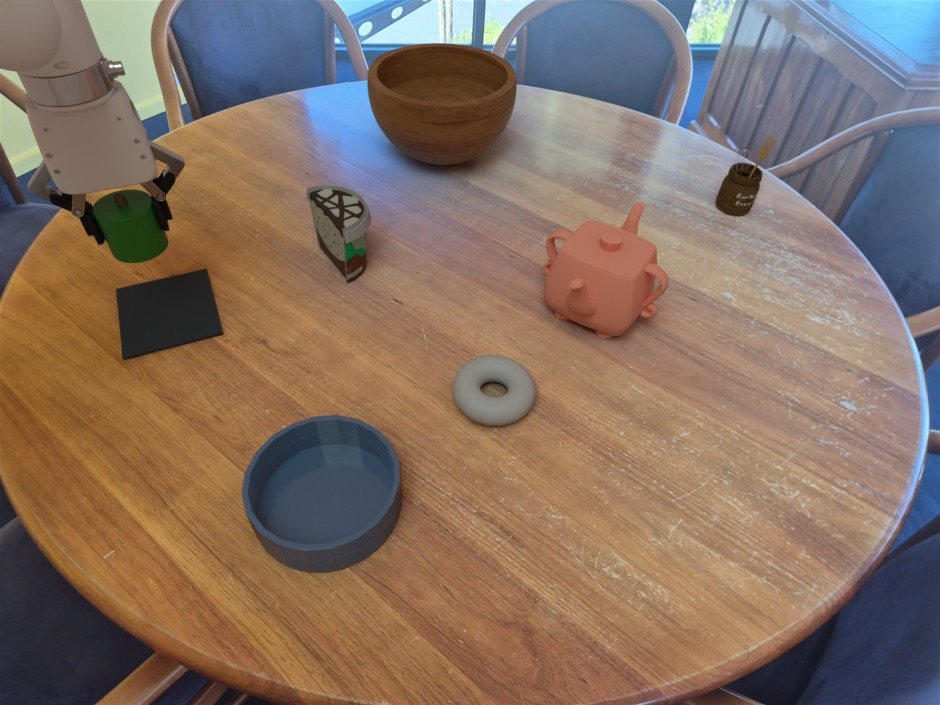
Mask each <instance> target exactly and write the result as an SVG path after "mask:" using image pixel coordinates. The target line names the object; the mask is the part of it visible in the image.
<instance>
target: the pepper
mask: <svg viewBox="0 0 940 705" xmlns="http://www.w3.org/2000/svg"><path fill="white" fill-rule="evenodd" d="M92 206H93V207H92V213H93V216H94V218H95V220H96V222H97V224H98V226H99V228H100V230H101V232H102V234H103V236H104V238H105V243H106V244H107V247H108V248H109V250H110V253H111V255H112V257H113V258H114V259H115V260H116V261H119V262H121V263H125V264H141V263H145V262H148V261H151V260H154V259H156V258H157V257H159V256H161V255H162V254H163V253H164V252H165V251H166V250H167V248H168V246H169V242H170V241H169V238H168V236H167V233H166V231H165V230H164V231H163V230H162V227H161V225H160V222H159V220H158V217H157V215H156V212H155V210H154V207H153V204H152V199H151V194H150V193H149V192H147V191H143V190H140V189H121V190H116V191H111V192H109V193H107V194H105V195H103V196H101V197H100V198H98V199H97V200H96V201H95V202H94V203H93V204H92Z"/></svg>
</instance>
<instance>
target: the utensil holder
mask: <svg viewBox="0 0 940 705" xmlns="http://www.w3.org/2000/svg"><path fill="white" fill-rule="evenodd" d="M776 142H777V139H776V138H775V139H774V137H773V136H772V137H771V135H768V136H767V138H766V140H765V142H764V143H763V145H762V146H761V148H760V150H759V151H758V155H759V158H758V159H757V162H756V163H755V165H754V164H751V163H752V162H751V161H752V160H753V158H748V159H747V162H745V161H746V160H745V159H744V158H745V157H747V156H746V155H747V154H746V153H748V157H751V155H753V153H752V152H751V150H750V149H747V148H745V149H743V148H742V149H741V151H742V152H743V153H741V151H739V152H738V153H737V156H736V157H735V163H734V164H732V165H731V166H730V168H729V170H728V174H726V176H725V177H724V178H723V180H722V182H721V185H720V187H719V190H718V192H717V195H716V198H715V206H716V208H717V209H718V210H719V211H720V212H721V213H724V214H726V215H728V216H733V217H741V216H745V215H748V213H750V211H751V210H752V208H753V206H754V204H755V202H756V199H757V196H758V194H759V191H760V188H761V182H762V179H763V176H764V173H763V170H761V168H760V167H758V166H759V165H760V163H761V161H762V160H763V159H766V158H768V156H769V155H770V153H771V151H772V149H773V148H774V146H775V144H776ZM743 154H744V155H743ZM742 155H743V156H742ZM740 156H742V160H741V162H739V161H740V160H739V158H738V157H740Z"/></svg>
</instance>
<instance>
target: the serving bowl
mask: <svg viewBox="0 0 940 705" xmlns="http://www.w3.org/2000/svg"><path fill="white" fill-rule="evenodd" d="M398 457H399V456H397V453H396V451H395V448H394V446H393V444H392V442H391V441H390V440H389V439H388V438H387V437H386V436H385V435H384V434H383V433H382V432H381V431H380V430H379V429H378V428H377V427H375V426H373V425H371V424H369V423H367V422H365V421H364V420H361V419H358V418H355V417H349V416H345V415H339V414H332V415H331V414H329V415H314V416H311V417H308V418H305V419H302V420H298V421H296V422H292V423H290V424H289V425H287V426H285V427H284V428H282V429H280V430H279V431H276V432H275V433H274V434H272V435H271V436H270V437H269V438H268V439H267V440H266V441H265V442H264V443H263V444H262V445H261V446H260V447H259V448H258V449H257V450H256V451H255V453H254V455H253V456H252V458H251V460H250V461H249V464H248V466H247V467H246V469H245V472H244V475H243V482H242V487H241V498H242V503H243V508H244V512H245V516H246V517H247V519H248V522H249V524H250V527H251V528H252V531H253V532H254V535H255V537H256V538H257V540H258V541H259V543H260V545H261V546H262V547H263V549H264V550H265V551H266V553H267V554H268V555H269V556H270V557H271V558H273V559H274V560H276V561H277V562H278V563H279V564H282V565H283V566H285V567H287V568H289V569H292V570H295V571H298V572H303V573H311V574H313V573H314V574H323V573H324V574H325V573H333V572H338V571H341V570H344V569H348V568H351V567H352V566H355V565H357V564H359V563H361V562H363V561H364V560H366V559H368V558H369V557H370V556H372V555H373V554H374V553H375V552H377V551H378V550H379V549H380V548H381V547H382V546H383V545H384V544H385V543H386V541H387V539H389V538H390V536H391V534H392V532H393V531H394V530H395V528H396V525H397V523H398V521H399V517H400V514H401V511H402V510H401V509H402V505H403V499H402V498H403V496H402V480H401V479H402V478H401V476H402V475H401V465H400V464H401V463H400V459H399V458H398Z"/></svg>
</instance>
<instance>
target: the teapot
mask: <svg viewBox="0 0 940 705" xmlns="http://www.w3.org/2000/svg"><path fill="white" fill-rule="evenodd" d="M644 209H645V203H644V202H642V201H639V202H637V203H635V204H634V205H633V206H632V208H631V209H630V211H629V214H628V215H627V217H626V219H625V221H624V223H623V224H622V226H621V227H616V226H614V225H611V224H608V223H604V222H601V221H596V220H590V219H589V220H585V221H583V222H582V223H581V224H580V225H579V226H578V227H577V228H576V229H575V230H574V231H573V232H572V231H570V230H567V229H556V230H554V231H552V232H550V233H549V235H548V236H547V238H546V241H545V243H546V244H545V246H546V248H545V249H546V252H547V256H548V258H549V259H548V260H546V261H545V262H544V264H543V272H544V274H545V275H546V279H545V282H544V287H543V290H542V292H543V298H544V301H545V304H546V305H547V307H548V308H549V309H551V310H552V311H554V315H555V316H556V317H557V318H558V319H560V320H564V321H565V320H571V321H572V322H574V323H576V324H579V325H581V326H583V327H586V328H588V329H591V330H594V332H595V334H596V335H597V336H598V337H600V338H603V339H609V338H612V337H613V336H615V337H616V336H618V337H619V336H622V335H623V334H625V333H626V331H628V329H629V328H630V327H631V326H632V325H633V324H634V322H635V321H636V320H637V319H638V317H639V316H641V317H643V318H645V319H651V318H653V317H655V316H656V315H657V314H658V311H659V307H658V305H657V304H656V303H655V301H657V300H658V299H659V298H660V297H661V296H662V295H664V294H665V292H666V291H667V289H668V287H669V283H670V280H669V275H668V274H667V272H666V271H665V270H664V269H663V268H662V267H661V266H659V265H658V251H657V250H658V249H657V246H656V245H655V244H654V243H653V242H651V241H650V240H648V239H646V238H644V237H641V236H639V235H638V229H639V225H640V224H639V223H640V220H641V217H642V215H643V212H644ZM556 239H561V240H563V241H565V242H564V243H563V244H562V245H561V247H560V249H559V250H557V246H556ZM656 279H657V280H658V283H659V287H658V288H657V289H656V290H655V291H654V288H655V283H656ZM653 291H654V292H653Z"/></svg>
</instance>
